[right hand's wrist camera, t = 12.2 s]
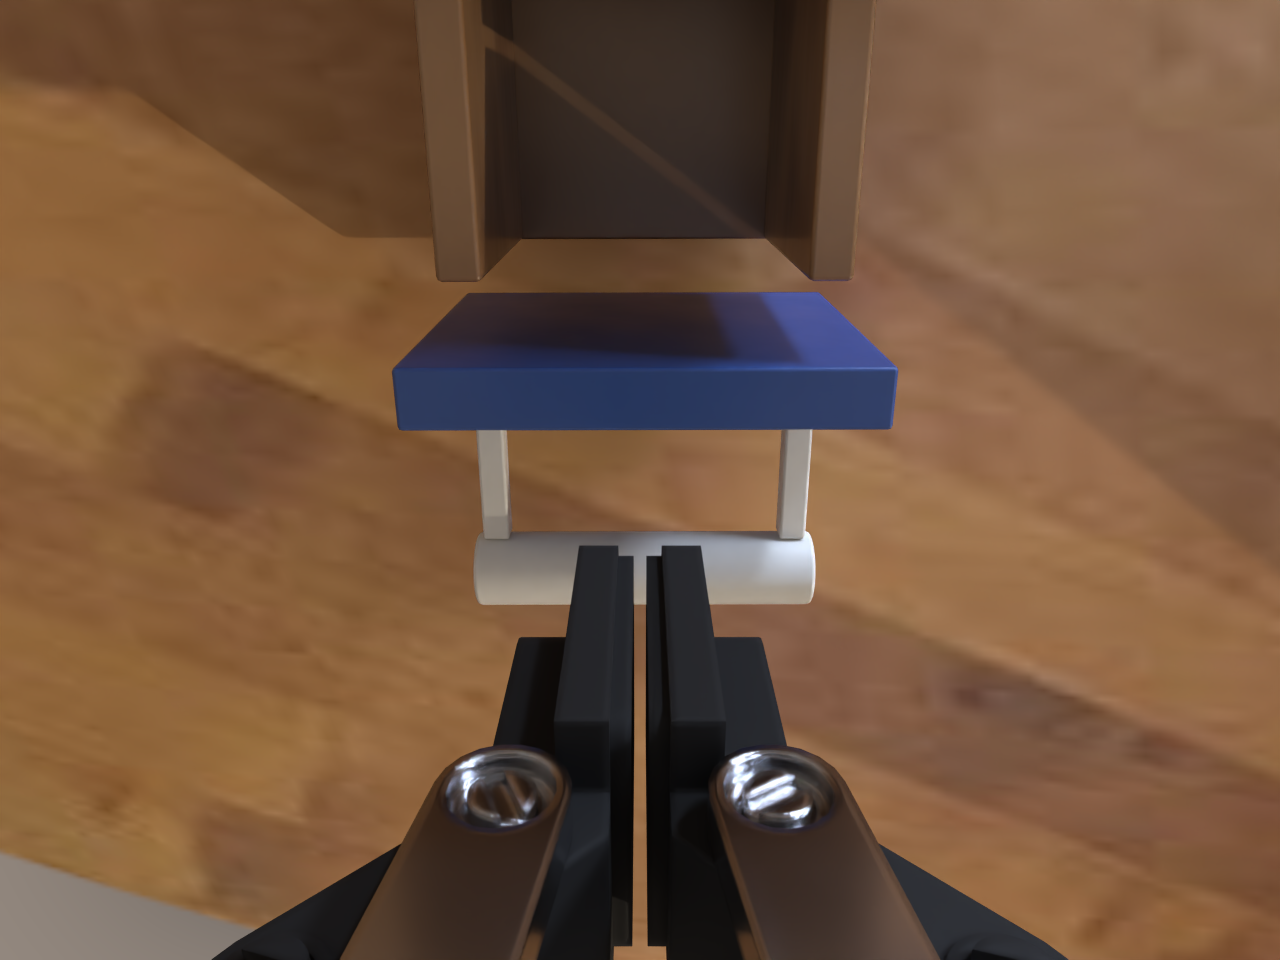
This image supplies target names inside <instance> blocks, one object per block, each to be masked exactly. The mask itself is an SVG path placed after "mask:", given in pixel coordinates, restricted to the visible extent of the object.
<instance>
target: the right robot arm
mask: <svg viewBox="0 0 1280 960" xmlns="http://www.w3.org/2000/svg"><path fill="white" fill-rule="evenodd" d="M633 815H634V556H619V548H618V545H579V549H578V556H577V563H576V570H575V577H574V584H573V591H572V598H571V605H570V612H569V619H568V626H567V633H566V637H521V638H519V640H518V643H517V646H516V651H515V655H514V659H513V663H512V668H511V672H510V676H509V680H508V685H507V689H506V693H505V697H504V702H503V706H502V710H501V714H500V719H499V723H498V727H497V731H496V736H495V740H494V744H493V746H491V747H486V748H481V749H478V750H476V751H473V752H471V753H469V754H466V755H464V756H462V757H460V758H458V759H457V760H456V761H454V762H453V763H452V764H450V765H449V766H447V767H446V768H445V769H444V770H443V772H442V773H441V774H440V775H439V777H438V778H437V779H436V781H435V782H434V784H433V786H432V788H431V789H430V791H429V793H428V795H427V797H426V799H425V801H424V803H423V804H422V806H421V808H420V810H419V812H418V814H417V816H416V818H415V819H414V821H413V823H412V825H411V827H410V829H409V831H408V833H407V834H406V836H405V838H404V840H403V842H402V843H401V844H400V845H398V846H396V847H395V848H393V849H391V850H390V851H388V852H386V853H385V854H383V855H381V856H380V857H378V858H376V859H375V860H373V861H371V862H369V863H368V864H366V865H364V866H363V867H361V868H359V869H358V870H356V871H354V872H353V873H351V874H349V875H348V876H346V877H344V878H342V879H341V880H339V881H337V882H336V883H334V884H332V885H331V886H329V887H327V888H326V889H324V890H322V891H321V892H319V893H317V894H316V895H314V896H312V897H310V898H309V899H307V900H305V901H304V902H302V903H300V904H299V905H297V906H295V907H294V908H292V909H290V910H289V911H287V912H285V913H283V914H282V915H280V916H278V917H277V918H275V919H273V920H272V921H270V922H268V923H267V924H265V925H263V926H262V927H260V928H258V929H257V930H255V931H253V932H251V933H250V934H248V935H246V936H245V937H243V938H241V939H240V940H238V941H236V942H235V943H233V944H232V945H231V946H229V947H228V948H227V949H225V950H224V951H223V952H221V953H220V954H218V955H217V956H216V957H214V958H213V959H212V960H613V956H614V946H632V921H633ZM646 815H647V921H648V946H666V956H667V960H1068V959H1067V958H1066V957H1064V956H1063V955H1062V954H1060V953H1059V952H1057V951H1056V950H1055V949H1053V948H1052V947H1051V946H1049V945H1048V944H1047V943H1045V942H1044V941H1042V940H1040V939H1039V938H1037V937H1035V936H1034V935H1032V934H1030V933H1029V932H1027V931H1025V930H1023V929H1022V928H1020V927H1018V926H1017V925H1015V924H1013V923H1012V922H1010V921H1008V920H1007V919H1005V918H1003V917H1002V916H1000V915H998V914H997V913H995V912H993V911H991V910H990V909H988V908H986V907H985V906H983V905H981V904H980V903H978V902H976V901H975V900H973V899H971V898H970V897H968V896H966V895H964V894H963V893H961V892H959V891H958V890H956V889H954V888H953V887H951V886H949V885H948V884H946V883H944V882H943V881H941V880H939V879H938V878H936V877H934V876H932V875H931V874H929V873H927V872H926V871H924V870H922V869H921V868H919V867H917V866H916V865H914V864H912V863H911V862H909V861H907V860H905V859H904V858H902V857H900V856H899V855H897V854H895V853H894V852H892V851H890V850H889V849H887V848H885V847H884V846H882V845H880V844H879V843H878V842H877V840H876V838H875V836H874V834H873V833H872V831H871V829H870V827H869V825H868V823H867V821H866V819H865V818H864V816H863V814H862V812H861V810H860V808H859V806H858V804H857V803H856V801H855V799H854V797H853V795H852V793H851V791H850V789H849V788H848V786H847V784H846V782H845V781H844V779H843V778H842V777H841V775H840V774H839V773H838V772H837V770H836V769H835V768H834V767H833V766H831V765H830V764H828V763H827V762H826V761H824V760H823V759H822V758H820V757H818V756H816V755H814V754H811V753H809V752H807V751H804V750H802V749H799V748H794V747H789V746H787V744H786V740H785V736H784V731H783V727H782V723H781V719H780V714H779V710H778V706H777V702H776V697H775V693H774V689H773V685H772V680H771V676H770V672H769V668H768V663H767V659H766V655H765V651H764V646H763V643H762V640H761V638H759V637H714V633H713V626H712V619H711V612H710V605H709V598H708V591H707V584H706V577H705V570H704V563H703V556H702V549H701V545H662V548H661V556H646Z"/></svg>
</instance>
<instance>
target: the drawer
mask: <svg viewBox="0 0 1280 960" xmlns="http://www.w3.org/2000/svg"><path fill="white" fill-rule="evenodd" d="M413 3H414V15H415V27H416V39H417V51H418V63H419V75H420V87H421V99H422V111H423V123H424V135H425V147H426V159H427V171H428V183H429V195H430V207H431V219H432V231H433V243H434V255H435V267H436V277H437V279H438V280H439V281H441V282H477V281H479V280H481V279H482V278H483V277H484V276H485V275H486V274H487V273H488V272H489V271H490V270H491V269H492V268H493V267H494V266H495V265H496V264H497V263H498V262H499V261H500V260H501V259H502V258H503V257H504V256H505V255H506V254H507V253H508V252H509V251H510V250H511V249H512V248H513V247H514V246H515V245H516V244H517V243H518V242H519V241H520V240H521V239H758V238H766V239H767V240H768V241H769V242H770V243H771V244H772V245H774V246H775V247H776V248H777V249H778V250H779V251H780V252H781V253H782V254H783V255H784V256H785V257H786V258H788V259H789V260H790V261H791V262H792V263H793V264H794V265H795V266H796V267H797V268H798V269H799V270H800V271H801V272H803V273H804V274H805V275H806V276H807V277H808V278H809V279H810V280H813V281H848V280H851V279H852V277H853V275H854V264H855V252H856V240H857V228H858V216H859V204H860V192H861V180H862V168H863V156H864V143H865V131H866V119H867V107H868V95H869V83H870V71H871V59H872V47H873V35H874V23H875V11H876V0H413ZM392 377H393V387H394V396H395V406H396V415H397V425H398V428H399V430H476V435H477V449H478V463H479V477H480V491H481V505H482V519H483V532H482V533H480V534H479V536H478V538H477V541H476V545H475V552H474V570H473V571H474V589H475V594H476V598H477V601H478V603H480V604H482V605H571V598H572V591H573V584H574V577H575V570H576V563H577V556H578V549H579V545H618V548H619V556H634V604H646V556H661V548H662V545H701V549H702V556H703V563H704V570H705V577H706V584H707V591H708V598H709V604H807V603H810V602H811V599H812V597H813V593H814V587H815V554H814V547H813V542H812V539H811V536H810V534H809V533H808V532H806V531H805V526H806V512H807V498H808V484H809V470H810V456H811V442H812V430H856V429H891V427H892V425H893V415H894V406H895V396H896V387H897V377H898V369H897V367H896V366H895V365H894V364H893V363H892V362H891V361H890V360H889V359H888V358H887V357H886V356H885V355H884V354H882V353H881V352H880V351H879V350H878V349H877V348H876V347H875V346H874V345H873V344H872V343H871V342H870V341H869V340H868V339H867V338H866V337H865V336H864V335H863V334H862V333H861V332H860V331H858V330H857V329H856V328H855V327H854V326H853V325H852V324H851V323H850V322H849V321H848V320H847V319H846V318H845V317H844V316H843V315H842V314H841V313H840V312H839V311H838V310H837V309H836V308H834V307H833V306H832V305H831V304H830V303H829V302H828V301H827V300H826V299H825V298H824V297H823V296H822V295H821V294H820V293H818V292H718V293H468V294H467V295H466V296H465V297H464V298H463V299H462V300H461V301H460V302H459V303H458V304H457V305H456V306H455V307H454V308H453V309H452V310H451V311H450V312H449V313H448V314H447V315H446V316H445V317H444V318H443V319H442V320H441V321H440V322H439V323H438V324H437V325H436V326H435V327H434V328H433V329H432V330H431V331H430V332H429V333H428V334H427V335H426V336H425V337H424V338H423V339H422V340H421V341H420V342H419V343H418V344H417V345H416V346H415V347H414V348H413V349H412V350H411V351H410V352H409V353H408V354H407V355H406V356H405V357H404V358H403V359H402V360H401V361H400V362H399V363H398V364H397V365H396V366H395V367H394V368H393V370H392ZM507 430H782V434H781V451H780V469H779V486H778V503H777V520H776V529H777V531H558V532H511V531H512V514H511V497H510V480H509V463H508V446H507Z"/></svg>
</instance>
